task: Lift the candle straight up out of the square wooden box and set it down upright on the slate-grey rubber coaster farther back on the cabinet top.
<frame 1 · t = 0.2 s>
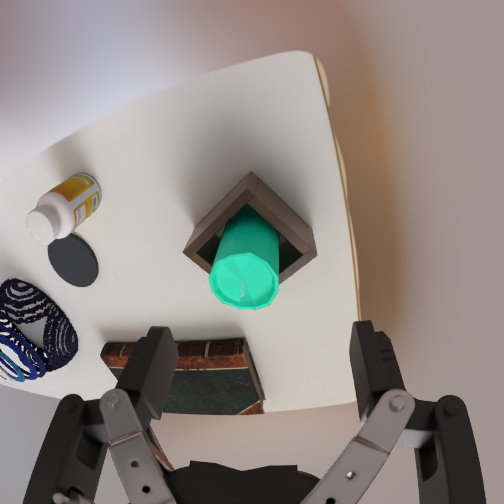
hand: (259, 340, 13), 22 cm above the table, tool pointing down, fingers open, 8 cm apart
square wooden box: (252, 228, 35), on the table
coaster: (73, 259, 40), on the table
candle: (252, 227, 35), resting in square wooden box
book: (186, 372, 51), on the table
decorative bowl: (37, 321, 49), on the table
supplement bottle: (85, 192, 34), on the table
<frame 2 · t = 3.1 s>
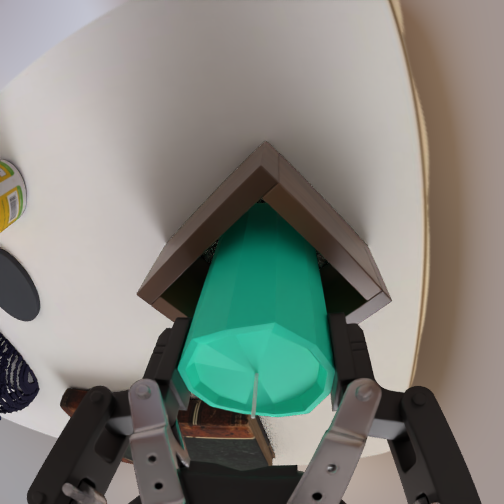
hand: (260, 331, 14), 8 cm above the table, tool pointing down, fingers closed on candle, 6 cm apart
square wooden box: (266, 245, 20), on the table
coaster: (9, 284, 25), on the table
candle: (266, 243, 20), resting in square wooden box, touching gripper
book: (172, 428, 35), on the table
supplement bottle: (8, 188, 19), on the table
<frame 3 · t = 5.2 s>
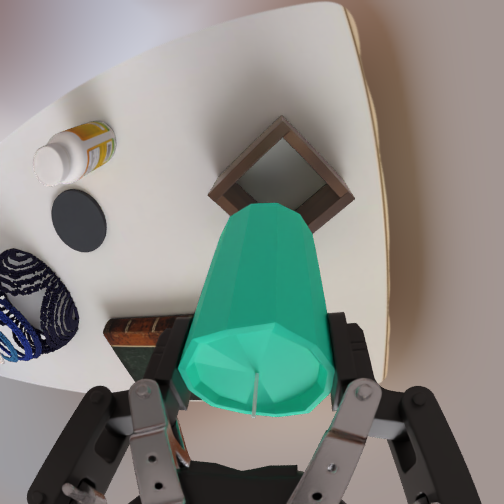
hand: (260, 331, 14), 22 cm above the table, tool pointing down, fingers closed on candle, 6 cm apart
square wooden box: (281, 178, 32), on the table
coaster: (78, 220, 37), on the table
candle: (266, 243, 20), point 14 cm above the table, touching gripper
book: (197, 352, 47), on the table
decorative bowl: (35, 297, 46), on the table
supplement bottle: (98, 142, 31), on the table
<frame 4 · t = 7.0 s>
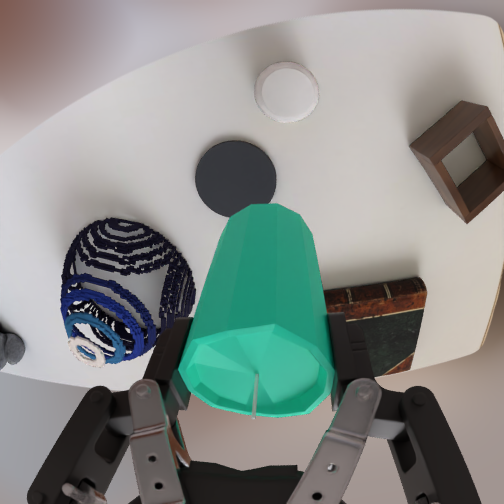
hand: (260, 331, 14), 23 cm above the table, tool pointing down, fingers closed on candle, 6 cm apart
square wooden box: (455, 153, 30), on the table
coaster: (235, 179, 34), on the table
candle: (266, 244, 20), point 16 cm above the table, touching gripper
book: (335, 331, 45), on the table
decorative bowl: (130, 281, 43), on the table
supplement bottle: (284, 90, 29), on the table
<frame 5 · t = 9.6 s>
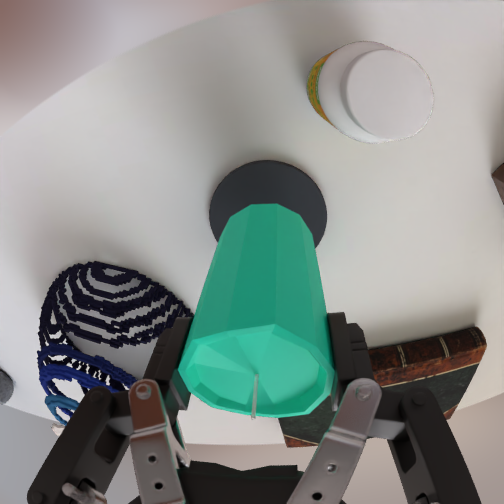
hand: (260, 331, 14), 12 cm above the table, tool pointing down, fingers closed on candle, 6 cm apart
coaster: (268, 216, 24), on the table
candle: (266, 244, 20), point 5 cm above the table, touching gripper
book: (375, 387, 35), on the table
decorative bowl: (125, 335, 33), on the table
supplement bottle: (343, 88, 19), on the table
when the fingers open (8 cm above the table, at t = 11.2 s): candle stays where it is, resting on coaster.
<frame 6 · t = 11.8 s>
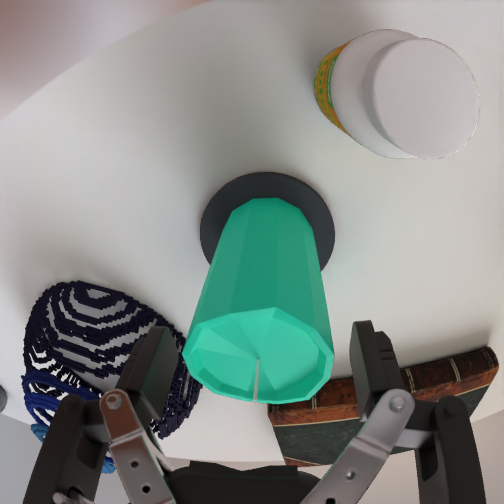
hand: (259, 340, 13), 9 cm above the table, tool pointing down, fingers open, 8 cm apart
coaster: (267, 236, 21), on the table
candle: (267, 238, 21), resting on coaster
book: (380, 408, 32), on the table
decorative bowl: (114, 356, 30), on the table
supplement bottle: (356, 88, 16), on the table
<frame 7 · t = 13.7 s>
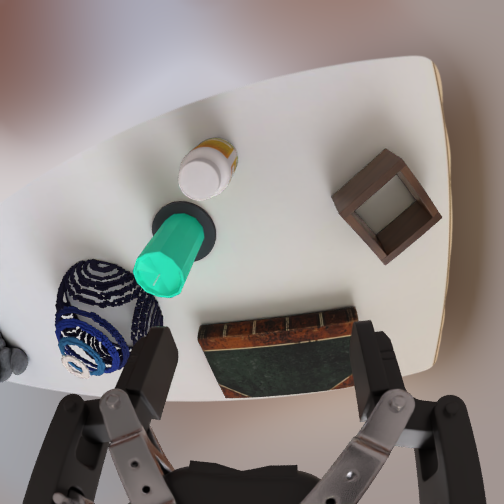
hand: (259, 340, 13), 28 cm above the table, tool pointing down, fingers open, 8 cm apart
square wooden box: (380, 198, 38), on the table
coaster: (183, 231, 42), on the table
candle: (183, 232, 42), resting on coaster
book: (283, 351, 53), on the table
decorative bowl: (111, 308, 51), on the table
supplement bottle: (216, 158, 37), on the table
koala plush: (5, 345, 65), on the table
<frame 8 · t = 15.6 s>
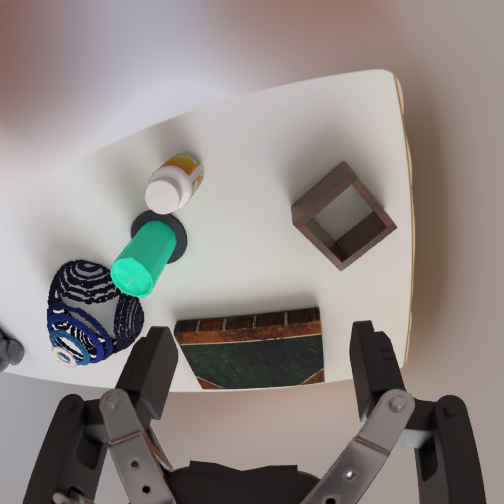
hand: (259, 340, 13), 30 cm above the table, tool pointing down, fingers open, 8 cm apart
square wooden box: (339, 208, 41), on the table
coaster: (159, 237, 46), on the table
candle: (158, 237, 46), resting on coaster
book: (254, 346, 57), on the table
decorative bowl: (98, 303, 55), on the table
supplement bottle: (185, 171, 41), on the table
koala plush: (2, 337, 69), on the table
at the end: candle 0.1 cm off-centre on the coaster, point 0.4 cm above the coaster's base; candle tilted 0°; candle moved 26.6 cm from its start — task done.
